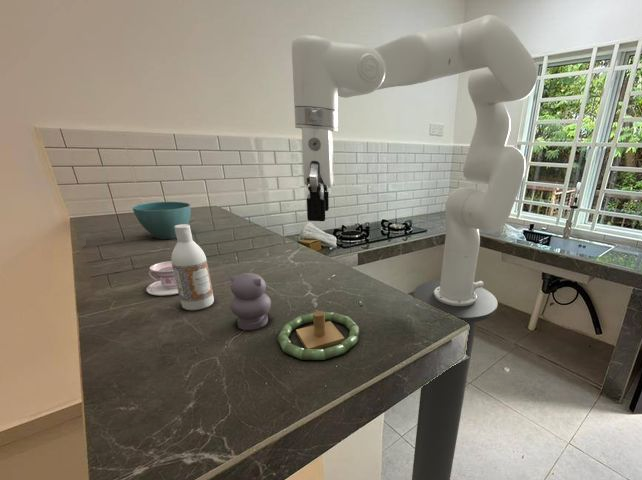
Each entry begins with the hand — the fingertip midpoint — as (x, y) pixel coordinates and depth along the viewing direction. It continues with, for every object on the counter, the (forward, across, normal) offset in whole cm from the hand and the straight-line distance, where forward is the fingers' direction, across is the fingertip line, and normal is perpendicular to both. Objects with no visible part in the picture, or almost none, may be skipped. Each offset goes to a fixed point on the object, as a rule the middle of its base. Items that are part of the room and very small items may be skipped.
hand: (318, 215), depth 65 cm
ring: (+25, -5, 0) cm, 25 cm away
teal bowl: (+26, +71, +65) cm, 100 cm away
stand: (+26, -5, 0) cm, 26 cm away
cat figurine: (+26, +2, +15) cm, 30 cm away
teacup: (+26, +22, +41) cm, 54 cm away
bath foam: (+26, +12, +31) cm, 42 cm away
